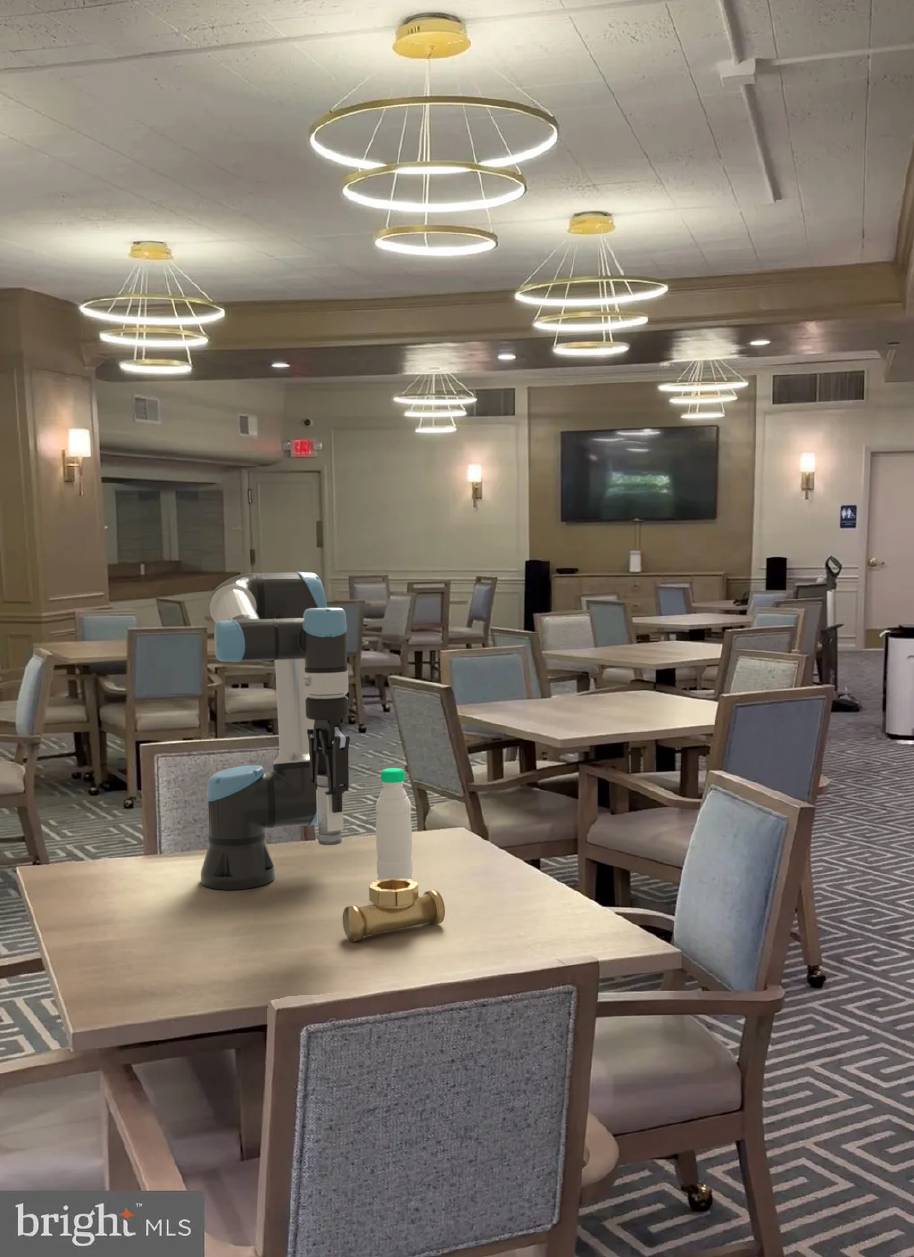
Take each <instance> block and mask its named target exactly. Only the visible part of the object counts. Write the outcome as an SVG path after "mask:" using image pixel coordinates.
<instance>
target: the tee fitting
mask: <svg viewBox="0 0 914 1257" xmlns="http://www.w3.org/2000/svg"><path fill="white" fill-rule="evenodd" d="M377 880H378V879H377ZM377 880H375V881H372V883H370V884H369V885H368V899H369V901H370V902H372V904H371V905H365V906H361V907H359V906H358V905H349V906H346V907H345V908H344V909H343V912H342V928H343V931H344V934H345V936H346V938H347V940H348V941H350V942H352V943H355V942H359V941H362V940H363V939H364V937H368V936H373V935H377V934H382V933H383V934H384V933H387V932H392V931H396V930H403V929H406V928H411V927H416V926H421V925H425V924H428V925H431V926H434V925H439V924H440V925H441V924H442V923H443V922H444V920H445V916H446V909H445V908H446V906H445V903H444V902H445V901H444V899H443V896H442V895H441V894H440V892H439V891H438V890H435V889H432V890H428V891H427V890H426V891H424V892H423V894H422V895H419V882H417V881H414V880H413V879H412V880H410V879H401V878H392V879H391V878H388V879H383V880H378V881H377Z"/></svg>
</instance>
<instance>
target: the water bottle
mask: <svg viewBox="0 0 914 1257" xmlns="http://www.w3.org/2000/svg"><path fill="white" fill-rule="evenodd" d="M405 780H406V774H405V770H404V769H403V768H398V767H390V768H388V767H387V768H384V769H382V770H381V771H380V781H381V784H382V785H383V787H382V790H381V791H380V793H379V797H378V799H377V801H376V803H375V812H376V821H375V838H376V839H375V840H376V842H375V843H376V854H377V861H376V873H377V879H376V881H378V880H383V879H388V878H391V879H392V878H401V879H410V880H413V860H412V853H413V852H412V851H413V838H412V836H413V832H412V831H413V830H412V828H413V827H412V816H411V815H412V814H411V811H412V804H411V800H410V799H409V796H408V794H407V792H406V790H405V789H404V783H405Z"/></svg>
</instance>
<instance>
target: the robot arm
mask: <svg viewBox="0 0 914 1257" xmlns="http://www.w3.org/2000/svg"><path fill="white" fill-rule="evenodd" d="M208 610H209V613H210V616H211V618H212V620H213V622H214V623H215V624H214V630H213V632H214V636H213V639H214V652H215V653H214V654H215V659H217V661H219V662H226V663H227V662H232V663H240V662H257V661H274V666H275V685H276V686H275V687H276V688H275V689H276V704H277V706H276V707H277V709H276V710H277V727H278V728H277V729H278V746H279V747H278V748H279V755H278V757H277V758H275V760H274V761H273V763H272V771H269V772H268V771H267V772H265V769H264V768H263V766H262V765H260V764H253V765H250V764H249V765H247V764H245V765H241V766H239V765H238V766H235V767H229V768H226V769H223V770H220V771H217V772H215V773H214V774H212V775H211V776H210V777H209V778H208V779H207V782H206V784H207V786H206V787H207V788H206V790H207V791H206V796H205V798H206V800H205V801H207V827H208V828H207V833H208V837H207V838H208V845H207V846H208V847H207V848H206V849H207V850H206V854H205V856H204V861H203V864H202V867H201V870H200V883H201V885H203V886H204V887H206V888H209V889H213V890H226V891H231V890H232V891H233V890H245V889H251V888H252V889H253V888H256V887H261V886H264V885H267V884H269V883H271V882H272V881H274V880H275V878H276V875H275V874H276V873H275V870H276V869H275V865H274V862H273V859H272V857H271V853H270V852H269V851H270V850H269V848H268V846H267V843H266V829H276V828H288V827H302V826H307V827H310V826H311V827H312V826H313V825H316V827H318V793H317V775H319V774H324V773H327V777H328V786H329V791H327V792H325V794H326V795H327V827H328V831H329V832H330V831H338V830H341V831H343V830H344V829H345V828H344V801H343V800H344V799H343V798H344V793H345V792H348V791H349V790H350V789H349V788H350V786H349V784H350V782H349V781H350V778H349V776H350V775H349V769H350V768H349V747H350V741H351V738H350V735H349V734H343V728H342V724H341V723H342V722H341V720H342V719H346V718H347V717H349V714H350V711H349V710H350V709H349V706H350V705H349V697H348V696H347V695H346V694H348V693H349V670H348V639H347V638H348V636H347V635H348V631H347V630H348V624H347V616H346V614H347V613H346V611H345V610H344V609H343V608H341V607H328V603H327V598H326V592H325V589H324V585H323V583H322V580H321V578H320V576H318V574H316V573H314V572H306V571H305V572H303V571H297V570H296V571H287V572H286V571H283V572H281V571H280V572H248V573H243V574H238V575H235V576H232V577H230V578H229V579H226V580H225V581H224V582H221V583H220V584H219V585H218V586H217V587H215V589H214V590H213V592H212V594H211V595H210V598H209V601H208Z"/></svg>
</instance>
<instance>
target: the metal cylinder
mask: <svg viewBox="0 0 914 1257" xmlns="http://www.w3.org/2000/svg"><path fill="white" fill-rule="evenodd" d="M327 791H329V786H328V777H327V773H324V774H319V775H317V793H318V826H317V827H318V833H317V834H318V838H317V839H318V844H319V845H320V846H321V845H322V846H336V845H340V844H342V842H343V838H342V837H343V836H342V835H343V834H342V830H338V831H330V832H329V831H328V827H327V795H326V794H325V792H327Z"/></svg>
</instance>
